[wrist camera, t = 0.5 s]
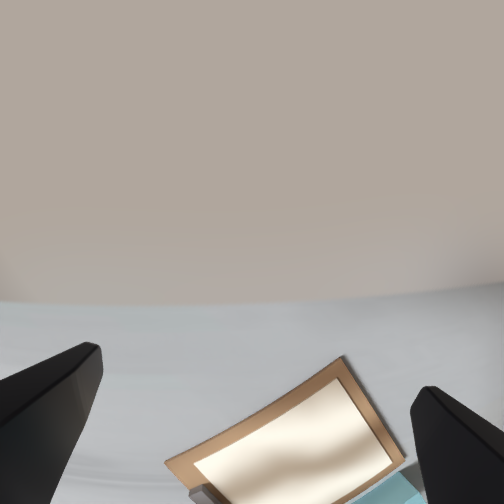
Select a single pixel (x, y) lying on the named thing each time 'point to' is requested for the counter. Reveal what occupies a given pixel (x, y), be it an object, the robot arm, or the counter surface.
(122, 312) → the counter surface
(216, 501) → the clipboard
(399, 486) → the light blue block
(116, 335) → the counter surface
